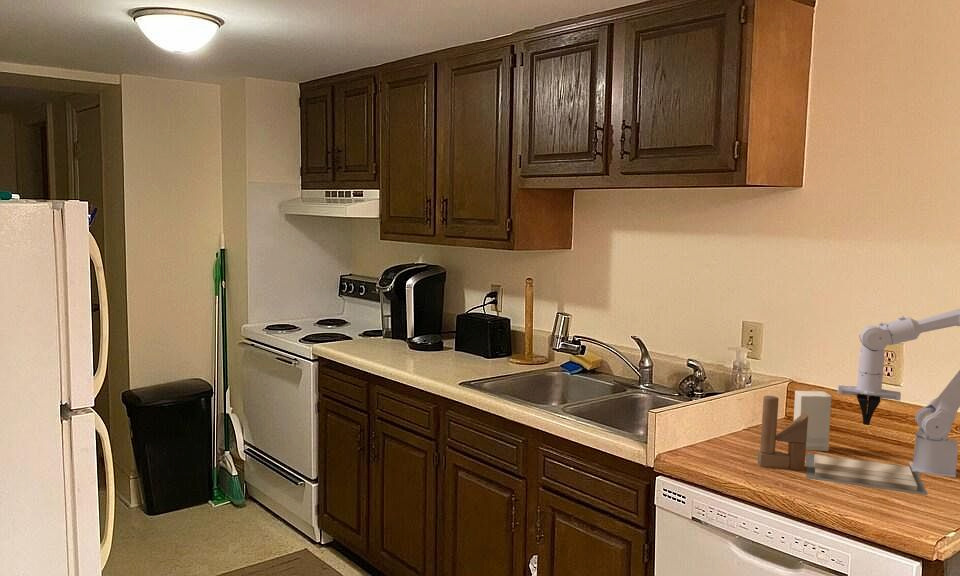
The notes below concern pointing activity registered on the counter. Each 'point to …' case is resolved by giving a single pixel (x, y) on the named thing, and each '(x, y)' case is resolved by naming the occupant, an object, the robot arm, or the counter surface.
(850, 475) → the laid plank
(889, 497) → the counter surface
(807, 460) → the underlay mat
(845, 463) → the loose plank
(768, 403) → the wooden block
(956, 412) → the robot arm
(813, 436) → the skincare box
